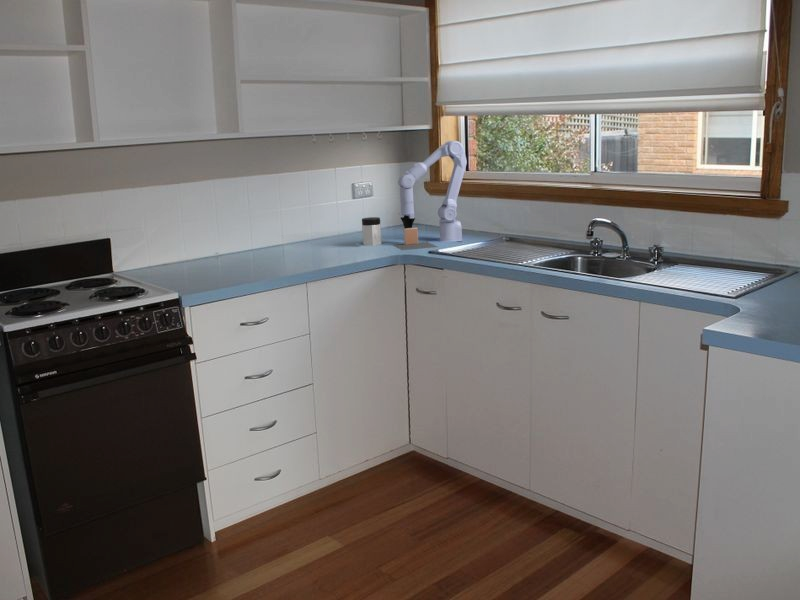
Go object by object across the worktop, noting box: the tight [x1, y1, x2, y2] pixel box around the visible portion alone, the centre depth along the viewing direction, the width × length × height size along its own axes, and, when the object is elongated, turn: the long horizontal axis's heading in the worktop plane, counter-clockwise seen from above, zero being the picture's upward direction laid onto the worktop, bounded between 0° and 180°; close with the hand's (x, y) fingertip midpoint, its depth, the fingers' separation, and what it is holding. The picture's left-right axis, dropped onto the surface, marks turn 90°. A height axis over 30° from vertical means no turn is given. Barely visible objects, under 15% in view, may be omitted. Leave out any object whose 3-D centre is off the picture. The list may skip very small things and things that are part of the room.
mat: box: [392, 241, 439, 251], centre depth 347 cm, size 16×16×1 cm
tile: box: [403, 227, 419, 245], centre depth 351 cm, size 6×2×7 cm, turn 106°
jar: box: [361, 216, 382, 246], centre depth 357 cm, size 9×8×12 cm
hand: (408, 233), depth 355 cm, fingers closed
